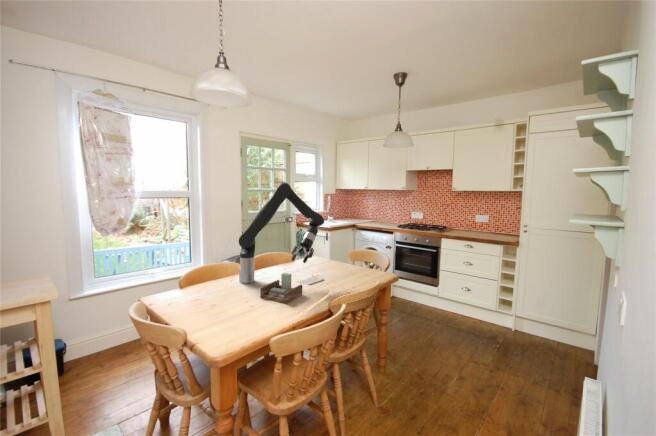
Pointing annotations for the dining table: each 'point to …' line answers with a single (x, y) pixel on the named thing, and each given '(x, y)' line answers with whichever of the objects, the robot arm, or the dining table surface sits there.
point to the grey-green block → (286, 281)
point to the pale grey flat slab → (311, 280)
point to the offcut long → (276, 295)
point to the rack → (288, 295)
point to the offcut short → (278, 291)
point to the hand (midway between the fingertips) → (298, 261)
